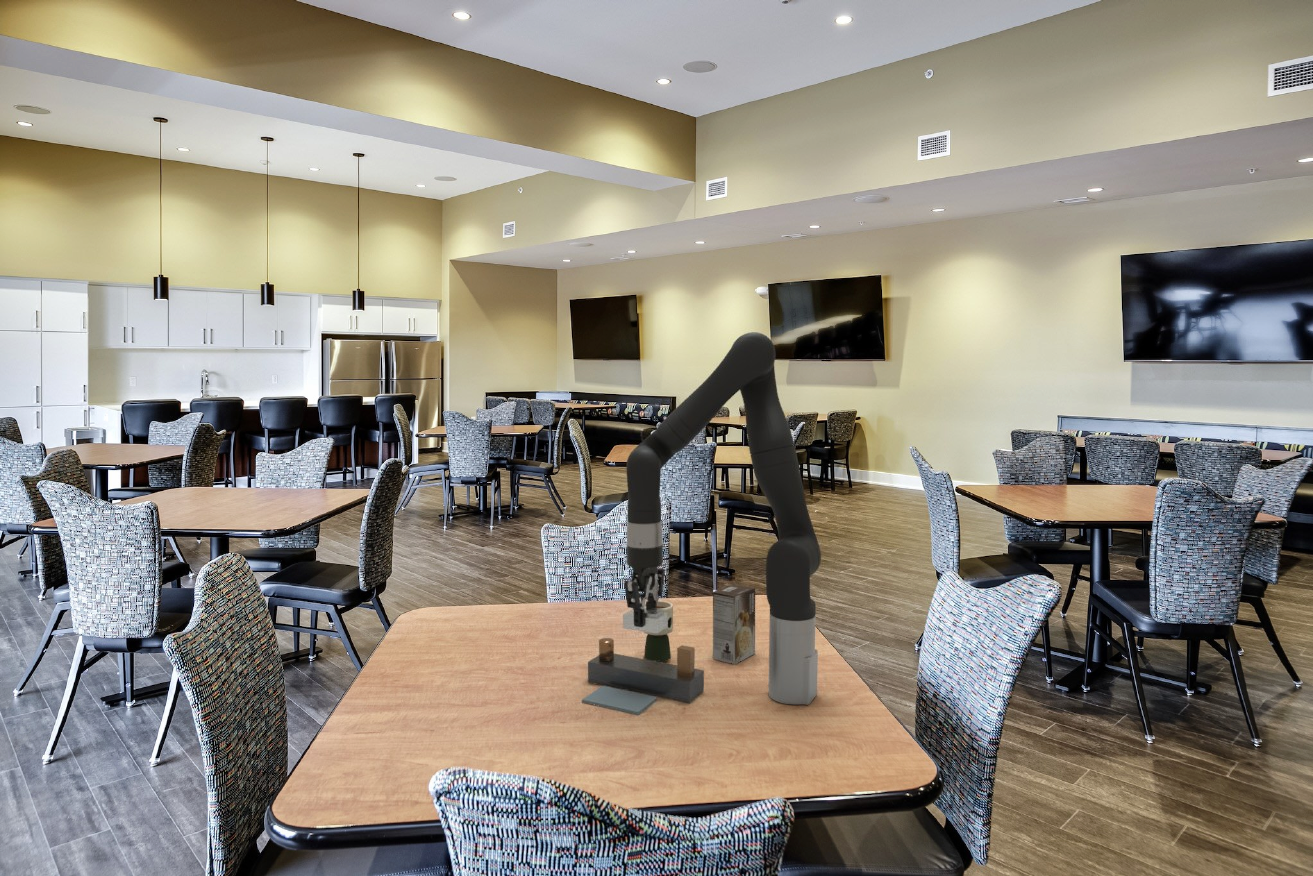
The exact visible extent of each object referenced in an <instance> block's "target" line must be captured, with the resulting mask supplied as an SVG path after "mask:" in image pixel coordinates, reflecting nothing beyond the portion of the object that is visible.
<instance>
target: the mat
mask: <svg viewBox="0 0 1313 876" xmlns="http://www.w3.org/2000/svg"><path fill="white" fill-rule="evenodd" d="M657 701H658V697H656V696H651V695H646V694H642V693H637V692H632V691H627V690H623V689H618V688H613V687H608V686H604V685H600V687H598V688H597V689H595V690H594V691H592V692H591V693H589V694H587V695H586V696H585V697H583V698H582V699H581V703H582V702H585V703H584V704H587V703H591V704H595V705H594V706H596V705H599V706H598V707H600V706H602V707H601V708H605V709H606V708H607V709H609V710H615V711H618V712H619V711H620V712H623V713H628V714H632V715H636V716H639V715H641V714H642V713H643V712H645V711H646V710H648V708H649V707H651V706H652V705H653V704H655V703H656V702H657ZM591 704H590V705H591Z"/></svg>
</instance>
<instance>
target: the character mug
mask: <svg viewBox="0 0 1313 876" xmlns="http://www.w3.org/2000/svg"><path fill="white" fill-rule="evenodd" d="M646 602H647V601H645V607H644V609H645V610H646ZM657 608H658V609H664V612H666V613H668V627H667V628H665V629H663V630H662V631H660V632H659V633H650V632H643V633H644V634H646V636H645V637H646V638H645V643H644V652H643V654H644V656H643V659H646V660H651V661H657V662H666V661H669V660H670V659H672V658H671V656H672V655H671V646H670V638H669V634H670V633H672V632H673V631H674V630H673V629H674V604H673V603H672V602H669V601H664V600H658V602H657Z"/></svg>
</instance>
